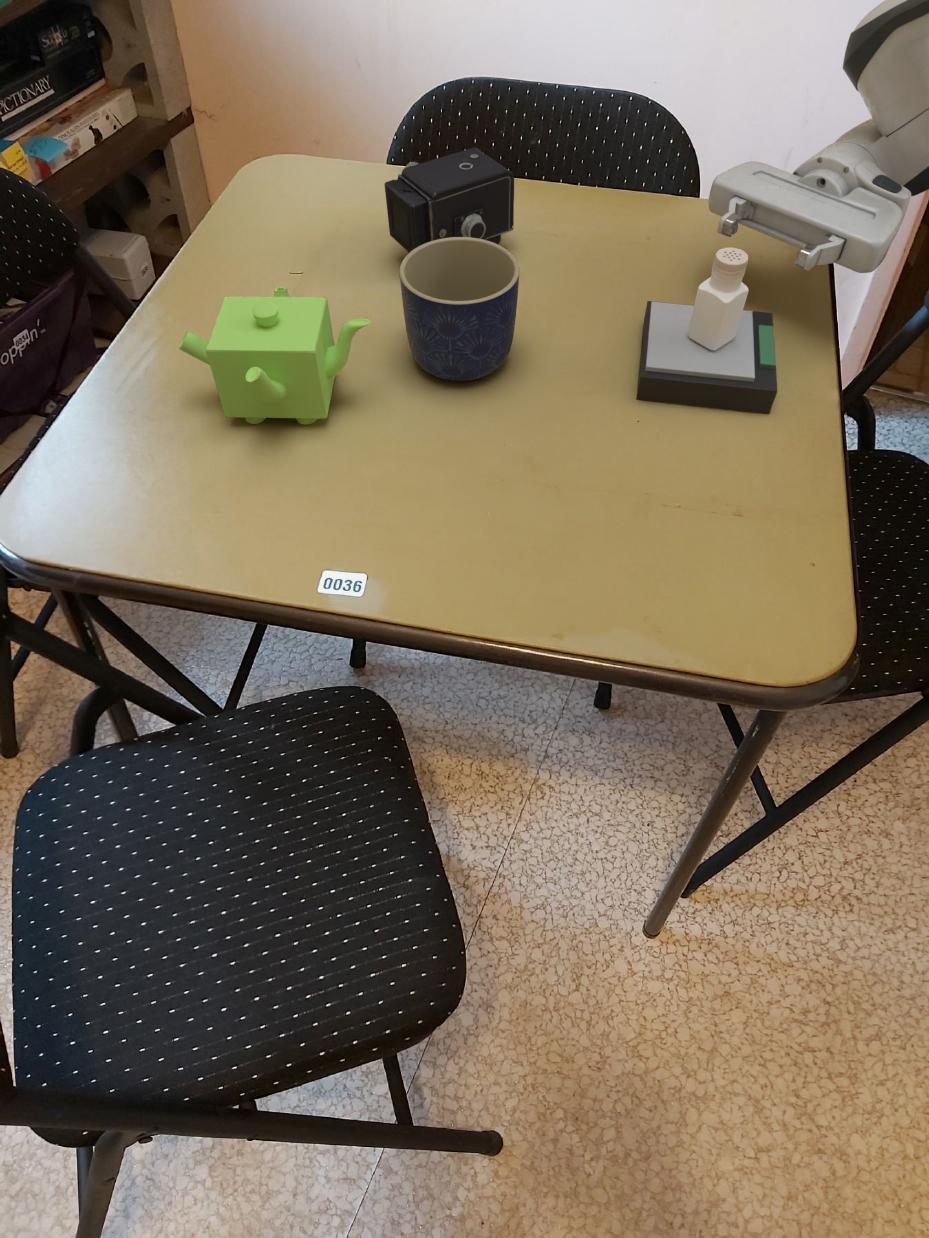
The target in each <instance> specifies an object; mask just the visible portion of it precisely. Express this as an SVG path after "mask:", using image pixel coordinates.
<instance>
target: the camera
mask: <svg viewBox="0 0 929 1238" xmlns="http://www.w3.org/2000/svg"><path fill="white" fill-rule="evenodd" d="M383 186H384V194H385V200H386V201H385V203H386V212H387V213H386V214H387V220H388V221H387V222H388V230H389V236H390V237H391V238H393V240H394V241H396V242H397V243H398V245H400V246H401V247H402V248H403V249H404V250H405V251H406V252H408V254H409V253H410V252H411V251H412V250H414V249H415V248H417V247H419V246H421V245H423V244H425V243H428V242H431V241H434V240H438V239H443V238H450V237H471V238H478V239H483V240H487V241H490V242H493V243H495V244H498V245H500V243H501V240H502V235H503V234H506V233H509V232H512V231H514V224H515V221H514V219H515V218H514V216H515V215H514V212H515V211H514V210H515V176H514V174H513V172H512V171H511V170H510V169H508V168H507V167H505V166H504V165H502V164H500V163H499V162H498V161H496V160H494V159H493V158H491V157H490V156H488V155H487V154H485V153H484V152H483V151H481V149H480V148H479V147H470V148H467V149H464V150H461V151H458V152H455V153H451V154H448V155H445V156H442V157H438V158H434V159H431V160H427V161H424V162H421V163H418V162H417V161H416V162H415V161H411V162H408V163H407V164H406V165H405V167H404V168H403V169H402V170H401V174H399V173H398V174H397V179H391V180H388V181H385V182H384V185H383Z"/></svg>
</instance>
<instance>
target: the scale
mask: <svg viewBox="0 0 929 1238" xmlns="http://www.w3.org/2000/svg"><path fill="white" fill-rule="evenodd" d="M693 308H694V304H682V303H674V302H662V301H655V300H653V301H652V300H647V301H646V307H645V313H644V318H643V322H642V333H641V343H640V356H639V365H638V366H639V367H638V377H637V378H638V379H637V387H636V388H637V390H636V400H638V401H647V402H656V403H665V404H674V405H682V406H683V405H684V406H693V407H701V408H710V409H711V408H712V409H721V410H729V411H730V410H731V411H739V412H748V413H758V414H767V415H769V414H771V410H772V407H773V405H774V402H775V399H776V396H777V393H778V379H777V378H778V377H777V362H776V345H775V331H774V315H773V312H769V311H758V310H748V309H743V312H742V315H741V319H740V322H739V326H738V329H737V333H736V335H735V337H734V338H733V339H732V340H731V341H729V342H728V343H726V344H725V345H723V346H722V347H720V348H718V349H717V350H710V349H708V348H706V347H705V346H703V345H701V344H699V343H698V342H696V341H694V340H692V339H691V338H689V336H688V329H689V325H690V321H691V316H692V312H693Z"/></svg>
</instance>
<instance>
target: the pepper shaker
mask: <svg viewBox="0 0 929 1238" xmlns="http://www.w3.org/2000/svg"><path fill="white" fill-rule="evenodd" d="M748 256H749V255H748V253H747V252H745V251H744V250H743V249H739V248H736V247H723V248H720V249H718V250H717V252H716V253H715V255H714V259H713V263H712V267H711V276H710V277H708V278H707V279H705V280H704V281H703V282H702V283H700V284H699V286H698V288H697V292H696V296H695V300H694V303H693V305H694V308H693V312H692V316H691V321H690V325H689V329H688V336H689V338H691V339H692V340H694V341H696V342H698V343H699V344H701V345H703V346H705V347H706V348H708V349H710V350H717V349H718V348H720V347H722V346H723V345H725V344H726V343H728V342H729V341H731V340H732V339H733V338H734V337H735V335H736V333H737V329H738V326H739V322H740V319H741V315H742V312H743V310H745V309H744V308H745V305H746V301H747V298H748V294H749V291H750V290H749V288H748V286H747V285H746V284H745V283H744V282H742V280H743V278H744V277H745V273H746V269H747V266H748V263H749V257H748Z"/></svg>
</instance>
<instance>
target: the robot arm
mask: <svg viewBox="0 0 929 1238" xmlns="http://www.w3.org/2000/svg"><path fill="white" fill-rule="evenodd" d="M845 47H846V48H845V52H844V57H843V63H842V70H843V71H844V73H845V75H846V76H847V77H848V79H849V81H850V82H851V84H852V85H853V87H854V88H855V90H856V91H857V92H858V93H859V95H860V97H861V99H862V101H863V102H864V104H865V107H866V108H867V111H868V112H869V114H870V116H871V118H869V119H867V120H865V121H863V122H861V123H859V124H857V125H856V126H854V127H852V128H850V129H849V130H847V131H846V132H845V133H843V134H842V135H840V136H839V137H838V138H837V139H836V140H835V141H834V142H832V143H831V144H828V145H827V146H826V147H825V146H824V147H823V148H822V149H821V150H819V151H818V152H817V153H815V154H814V155H812V156H811V157H810V158H808V159H807V160H805V161H804V162H803V163H801V164H800V165H799V166H798V167H797V168H796V169H795V170H794V171H793V172H792V173H791V172H789V171H786V170H783V169H780V168H778V167H776V166H773V165H770V164H768V163H764V162H759V161H747V162H743V163H740V164H737V165H735V166H733V167H731V168H729V169H727V170H724V171H723V172H721V173H720V174H718V175H716V176H715V177H714V179H713V180H712V184H711V186H710V190H709V195H708V200H707V201H708V203H707V204H708V210H709V212H711V213H712V214H715V215H716V216H720V217H721V218H720V220H719V221H718V227H717V230H716V231H717V233H718V234H720V235H722V236H725V237H728V238H731V237H732V236H733V235H735V234H736V233H738V229H739V225H741V226H744V227H746V228H748V229H751V230H754V231H756V232H759V233H761V234H764V235H766V236H768V237H771V238H773V239H775V240H777V241H781V242H783V243H785V244H788V245H790V246H792V247H795V248H798V249H800V250H799V252H798V255H797V260H796V261H795V266H797V267H800V268H801V269H804V270H806V271H810V270H811V269H812V268H813V267H815V266H823V265H829V264H830V265H831V264H836V265H838V266H842V267H843V268H846V269H848V270H851V271H853V272H856V273H857V274H869V273H873V272H875V270H876V269H878V267H880V266H881V264H882V263H883V261H884V260H885V258H886V257H887V256H888V255H887V254H888V252H889V251H890V248H891V246H892V243H893V242H894V240H895V238H896V237H897V234H898V232H899V230H900V227H901V226H902V224H903V221H904V219H905V215H906V213H907V211H908V207H909V204H910V201H911V197H915V196H918V195H921V194H922V193H924V192H926V191H929V0H883V1H882V2H881V3H879V4H878V5H877V6H875V7H874V8H873V9H872V10H870V11H869V12H868V13H866V15H865V16H864V17H863V18H862V19H861V20H860V21H859V23H858V24H857V25H856V26H855V28H854V30H853V31H851V32H850V35H849V37H848V41H847V43H846V46H845Z"/></svg>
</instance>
